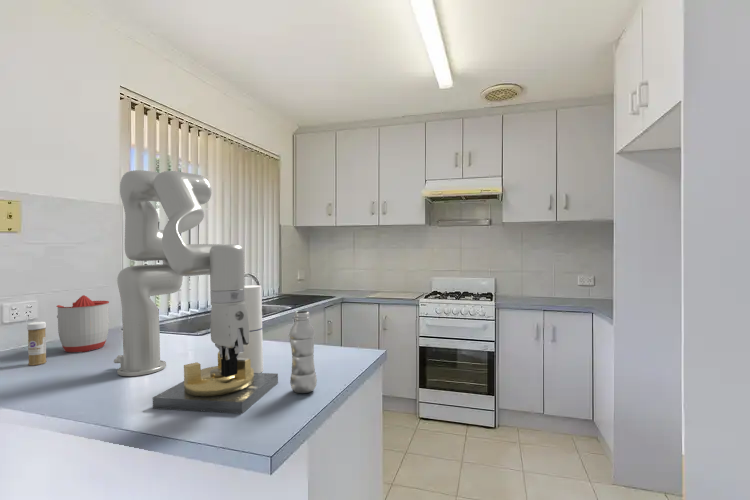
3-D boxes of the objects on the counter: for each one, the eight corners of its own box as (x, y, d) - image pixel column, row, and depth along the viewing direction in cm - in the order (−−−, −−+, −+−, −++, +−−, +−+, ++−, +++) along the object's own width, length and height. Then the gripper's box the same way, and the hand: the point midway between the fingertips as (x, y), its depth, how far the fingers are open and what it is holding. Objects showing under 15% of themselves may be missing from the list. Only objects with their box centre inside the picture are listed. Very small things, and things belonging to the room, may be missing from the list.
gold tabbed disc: (227, 398, 86) (226, 369, 86) (168, 392, 90) (167, 365, 90) (266, 375, 102) (265, 350, 101) (214, 371, 106) (213, 347, 106)
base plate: (152, 408, 88) (152, 395, 88) (203, 379, 107) (202, 369, 107) (242, 413, 85) (242, 400, 85) (278, 382, 104) (277, 372, 103)
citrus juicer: (79, 343, 152) (78, 292, 152) (120, 343, 150) (119, 292, 150) (41, 354, 137) (39, 298, 136) (86, 355, 135) (85, 298, 135)
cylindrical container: (255, 376, 109) (253, 288, 109) (232, 375, 111) (230, 287, 110) (267, 368, 116) (265, 285, 116) (245, 367, 118) (244, 285, 117)
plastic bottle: (305, 398, 93) (303, 315, 92) (284, 393, 96) (282, 312, 96) (322, 389, 98) (320, 310, 98) (302, 385, 102) (300, 309, 101)
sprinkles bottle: (25, 366, 123) (24, 324, 122) (31, 362, 127) (30, 322, 127) (43, 364, 124) (42, 323, 124) (49, 361, 128) (48, 320, 128)
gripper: (260, 297, 89) (261, 377, 89) (225, 293, 98) (227, 365, 99) (230, 301, 83) (232, 386, 83) (196, 296, 93) (198, 373, 93)
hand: (229, 374), depth 91 cm, fingers closed
